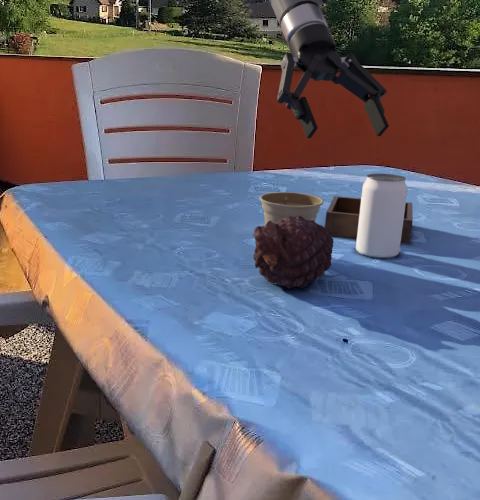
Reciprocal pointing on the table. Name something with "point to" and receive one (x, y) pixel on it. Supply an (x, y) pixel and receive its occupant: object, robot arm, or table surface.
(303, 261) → the pine cone
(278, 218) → the flower pot
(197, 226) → the table surface
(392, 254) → the can
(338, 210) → the wooden box
